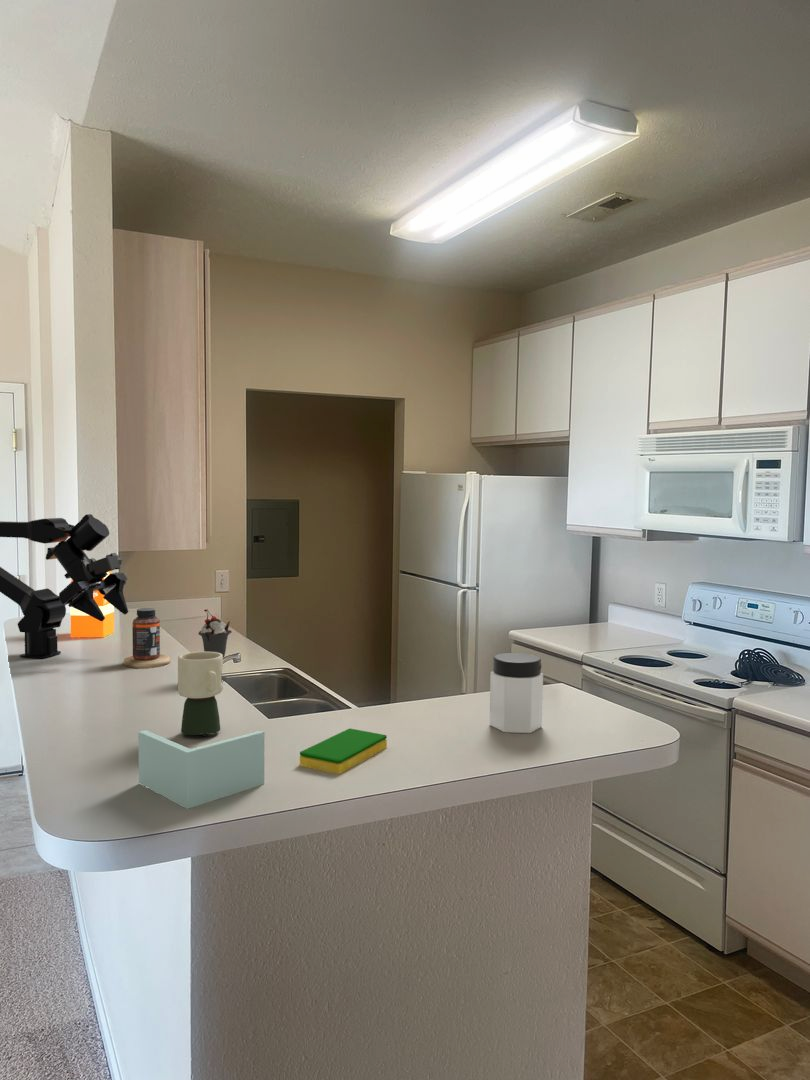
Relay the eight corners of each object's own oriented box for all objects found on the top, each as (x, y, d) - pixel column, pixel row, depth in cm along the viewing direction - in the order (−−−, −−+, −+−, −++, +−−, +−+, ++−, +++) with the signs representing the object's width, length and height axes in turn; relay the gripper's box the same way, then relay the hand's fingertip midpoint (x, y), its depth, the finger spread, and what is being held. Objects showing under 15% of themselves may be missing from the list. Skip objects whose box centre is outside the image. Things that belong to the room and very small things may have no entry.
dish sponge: (387, 749, 125) (387, 734, 125) (339, 777, 113) (339, 760, 113) (349, 742, 128) (349, 727, 128) (298, 768, 116) (298, 751, 116)
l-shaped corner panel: (264, 785, 109) (264, 731, 108) (187, 811, 100) (187, 752, 99) (214, 764, 117) (214, 714, 116) (138, 785, 108) (138, 731, 108)
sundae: (191, 681, 165) (191, 609, 164) (211, 674, 171) (211, 605, 170) (218, 684, 163) (218, 611, 162) (237, 677, 169) (237, 607, 168)
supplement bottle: (162, 659, 180) (161, 610, 179) (134, 661, 177) (134, 611, 177) (157, 654, 185) (157, 606, 185) (131, 656, 183) (130, 608, 182)
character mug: (235, 738, 128) (235, 658, 127) (193, 746, 124) (193, 664, 123) (207, 722, 137) (207, 647, 136) (167, 729, 132) (166, 652, 131)
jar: (550, 730, 134) (552, 660, 134) (510, 736, 131) (511, 664, 130) (520, 716, 142) (522, 650, 142) (481, 722, 139) (483, 654, 138)
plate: (114, 666, 178) (114, 661, 178) (140, 657, 188) (140, 652, 188) (154, 669, 175) (154, 664, 175) (178, 660, 185) (178, 655, 185)
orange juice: (103, 638, 210) (102, 563, 209) (70, 637, 210) (69, 562, 209) (114, 632, 218) (113, 560, 217) (82, 632, 218) (81, 559, 217)
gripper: (73, 545, 173) (115, 602, 172) (122, 539, 192) (160, 590, 190) (40, 576, 176) (81, 632, 175) (92, 566, 194) (129, 617, 193)
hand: (115, 616), depth 183 cm, fingers open, 9 cm apart
